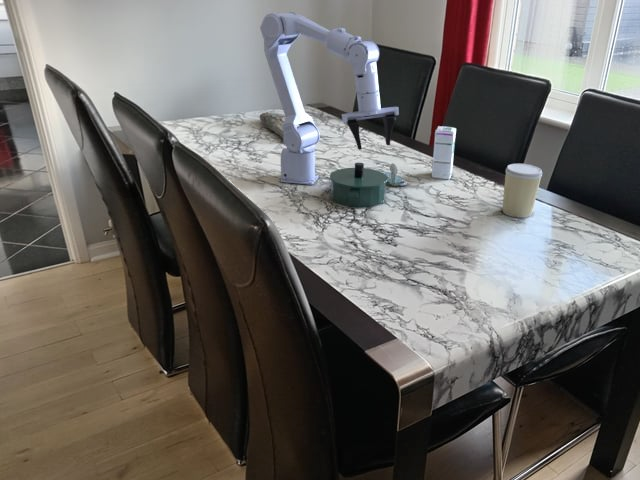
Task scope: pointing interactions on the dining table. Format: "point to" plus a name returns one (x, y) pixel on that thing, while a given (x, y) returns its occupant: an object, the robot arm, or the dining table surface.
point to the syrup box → (443, 152)
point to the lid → (358, 177)
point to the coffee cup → (520, 189)
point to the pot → (358, 195)
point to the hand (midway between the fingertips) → (373, 146)
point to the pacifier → (395, 177)
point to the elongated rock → (273, 122)
